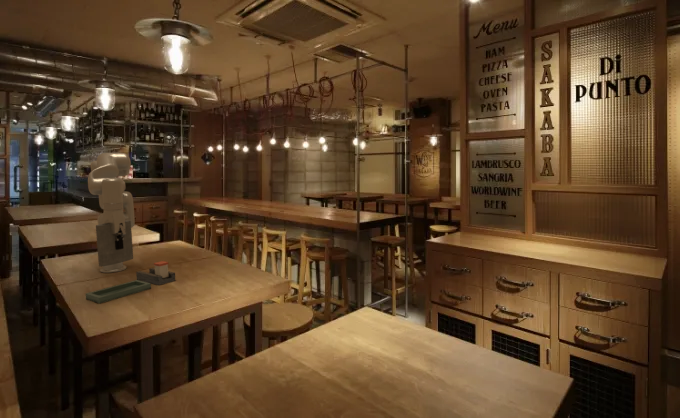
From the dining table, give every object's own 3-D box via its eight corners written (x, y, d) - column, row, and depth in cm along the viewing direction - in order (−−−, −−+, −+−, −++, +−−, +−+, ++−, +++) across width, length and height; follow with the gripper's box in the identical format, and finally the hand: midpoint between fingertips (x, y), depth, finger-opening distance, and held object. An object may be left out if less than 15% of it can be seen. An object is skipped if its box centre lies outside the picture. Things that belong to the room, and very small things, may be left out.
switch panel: (136, 279, 200) (136, 271, 199) (153, 275, 207) (152, 267, 207) (158, 285, 190) (158, 277, 190) (175, 280, 198) (174, 272, 198)
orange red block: (154, 277, 195) (153, 263, 194) (163, 275, 199) (162, 261, 198) (160, 278, 193) (159, 264, 192) (169, 276, 197) (168, 262, 196)
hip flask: (130, 257, 185) (127, 214, 183) (136, 258, 183) (133, 215, 181) (97, 266, 170) (93, 219, 168) (103, 267, 169) (100, 220, 166)
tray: (85, 299, 172) (85, 293, 171) (137, 285, 191) (136, 279, 191) (99, 303, 166) (99, 297, 166) (151, 288, 185) (150, 283, 185)
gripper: (94, 207, 175) (97, 248, 177) (115, 209, 166) (118, 252, 169) (111, 205, 182) (114, 245, 184) (132, 207, 173) (135, 249, 175)
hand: (116, 248), depth 176 cm, fingers closed on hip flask, 4 cm apart
